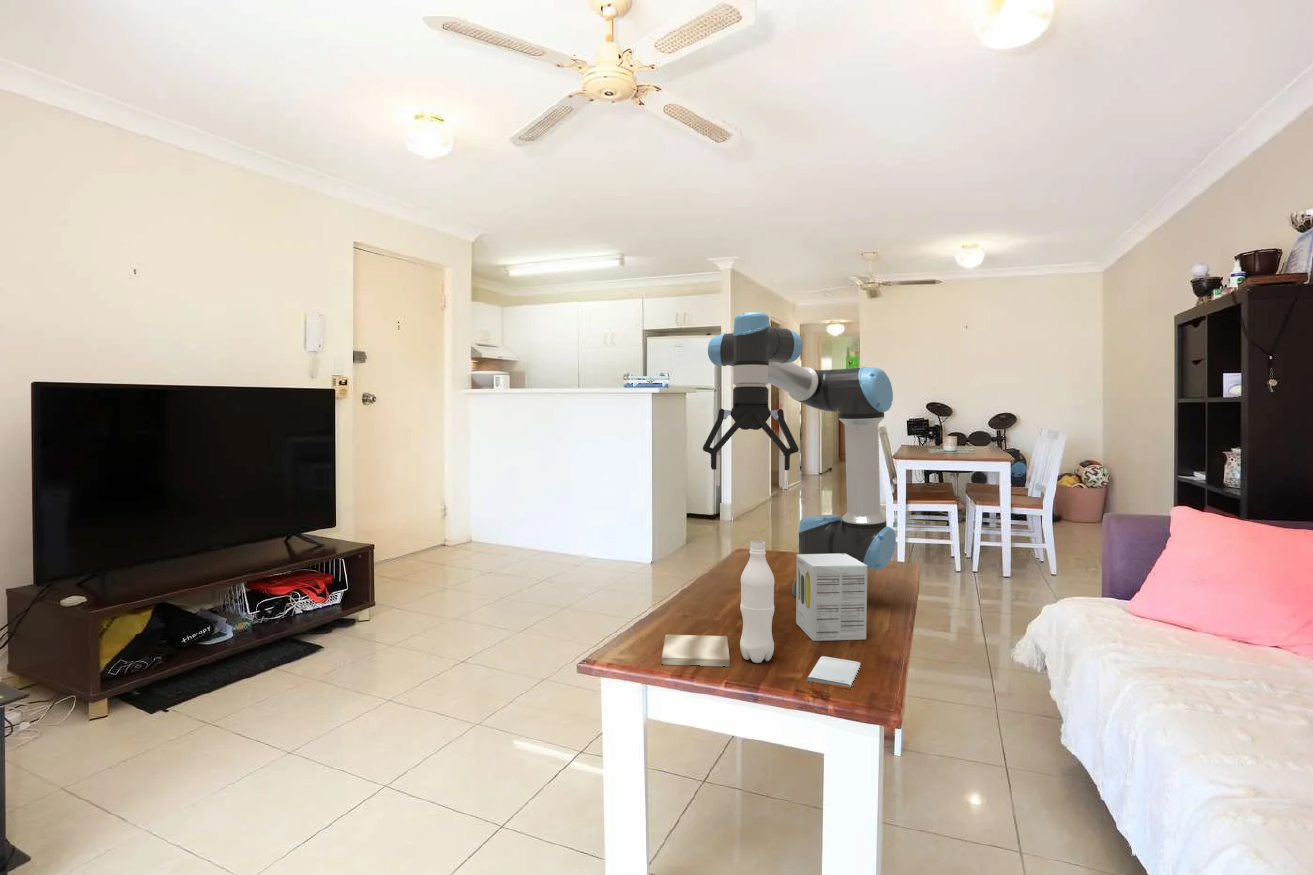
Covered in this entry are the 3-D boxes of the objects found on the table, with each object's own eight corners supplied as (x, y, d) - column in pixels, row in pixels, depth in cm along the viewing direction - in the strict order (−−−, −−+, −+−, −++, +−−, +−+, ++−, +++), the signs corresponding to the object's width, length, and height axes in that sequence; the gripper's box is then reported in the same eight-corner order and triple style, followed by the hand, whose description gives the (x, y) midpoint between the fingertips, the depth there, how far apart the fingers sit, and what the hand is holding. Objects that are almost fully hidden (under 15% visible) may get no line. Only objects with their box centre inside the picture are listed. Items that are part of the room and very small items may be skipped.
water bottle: (753, 667, 131) (754, 546, 130) (733, 655, 137) (734, 540, 137) (781, 661, 134) (782, 543, 133) (760, 650, 141) (761, 537, 140)
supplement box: (794, 623, 159) (795, 553, 159) (845, 621, 161) (846, 552, 160) (812, 641, 146) (813, 566, 146) (867, 640, 147) (868, 564, 147)
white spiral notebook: (850, 684, 120) (860, 661, 131) (807, 676, 124) (820, 654, 135) (850, 693, 120) (860, 669, 132) (807, 684, 124) (820, 662, 135)
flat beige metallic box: (726, 642, 145) (727, 636, 145) (729, 666, 131) (729, 659, 131) (665, 641, 146) (665, 634, 146) (661, 664, 132) (661, 657, 132)
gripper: (806, 387, 139) (805, 484, 140) (692, 387, 141) (691, 482, 141) (813, 385, 132) (811, 487, 132) (692, 385, 133) (691, 486, 134)
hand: (749, 485), depth 137 cm, fingers open, 13 cm apart
